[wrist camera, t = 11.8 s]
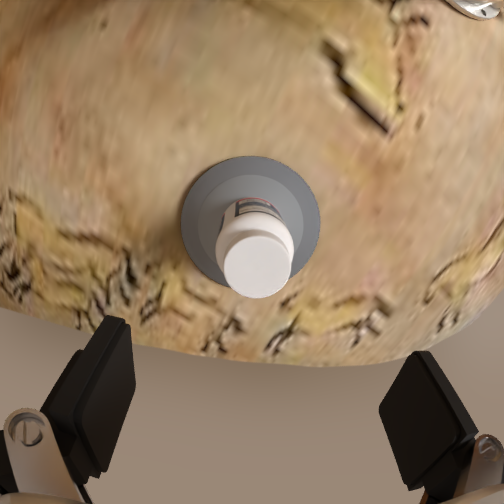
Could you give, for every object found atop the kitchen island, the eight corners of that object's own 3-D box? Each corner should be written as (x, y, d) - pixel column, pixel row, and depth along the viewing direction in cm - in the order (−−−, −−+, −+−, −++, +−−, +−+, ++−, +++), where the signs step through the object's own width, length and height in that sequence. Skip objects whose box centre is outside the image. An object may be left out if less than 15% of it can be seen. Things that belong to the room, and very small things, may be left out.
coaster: (331, 170, 25) (333, 171, 25) (302, 294, 29) (303, 298, 29) (190, 146, 24) (189, 147, 24) (177, 277, 28) (175, 280, 28)
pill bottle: (250, 267, 27) (253, 323, 19) (207, 226, 26) (192, 269, 18) (295, 227, 26) (319, 270, 18) (253, 182, 25) (259, 206, 17)
